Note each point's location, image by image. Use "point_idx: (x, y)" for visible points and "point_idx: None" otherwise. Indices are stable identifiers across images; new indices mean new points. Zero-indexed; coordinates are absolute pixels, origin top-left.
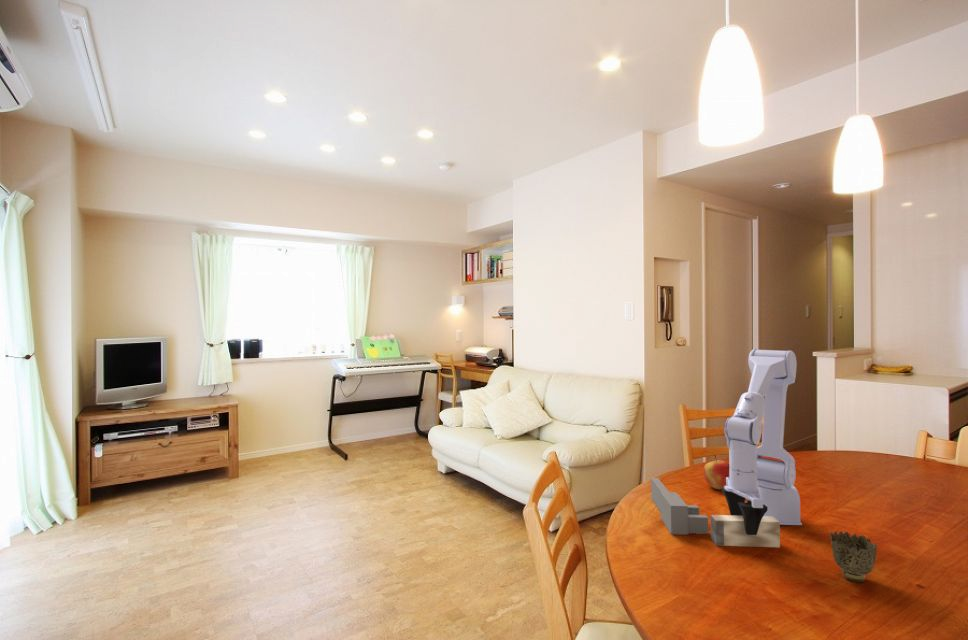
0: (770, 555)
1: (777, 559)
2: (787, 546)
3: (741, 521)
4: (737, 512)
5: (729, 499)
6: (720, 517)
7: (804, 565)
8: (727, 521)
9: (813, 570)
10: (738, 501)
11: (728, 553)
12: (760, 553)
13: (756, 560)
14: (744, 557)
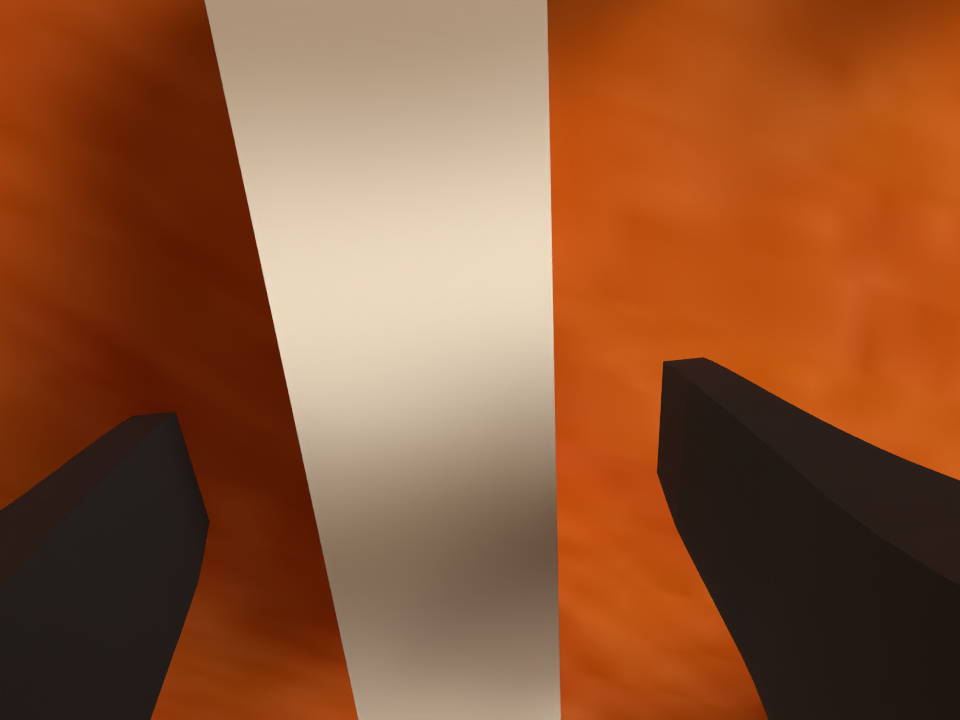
0: None
1: None
2: None
3: (308, 467)
4: (705, 504)
5: (867, 570)
6: (405, 111)
7: None
8: (257, 215)
9: None
10: (806, 692)
11: (69, 49)
12: (205, 421)
13: (2, 334)
14: (28, 225)
